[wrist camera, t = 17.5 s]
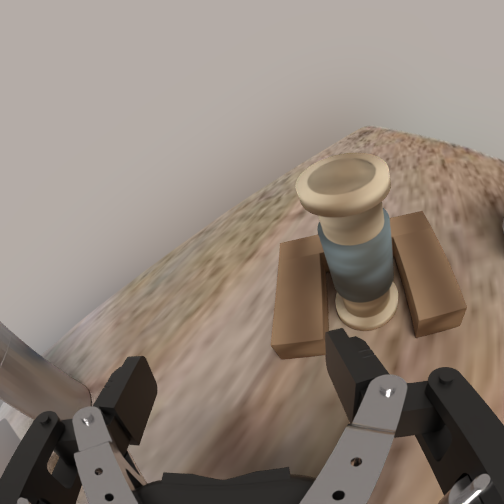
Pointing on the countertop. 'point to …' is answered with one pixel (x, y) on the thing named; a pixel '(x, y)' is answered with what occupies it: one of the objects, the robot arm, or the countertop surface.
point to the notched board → (315, 289)
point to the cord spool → (354, 234)
